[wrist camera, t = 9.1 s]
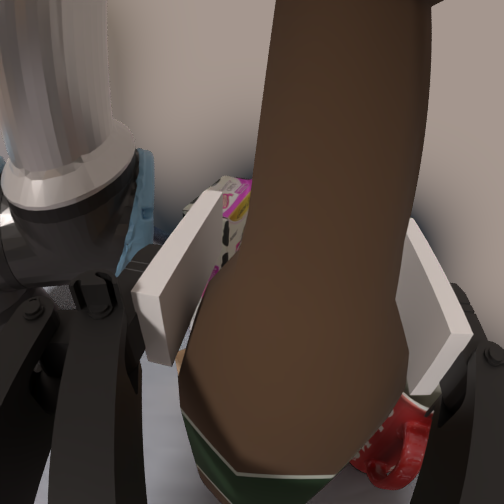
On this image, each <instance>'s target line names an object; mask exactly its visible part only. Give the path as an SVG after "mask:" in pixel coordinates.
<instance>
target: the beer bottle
mask: <svg viewBox="0 0 504 504" xmlns="http://www.w3.org/2000/svg"><path fill="white" fill-rule="evenodd" d="M441 1H443V0H276V4H275V11H274V18H273V26H272V33H271V41H270V47H269V55H268V63H267V70H266V78H265V85H264V92H263V100H262V108H261V115H260V123H259V130H258V138H257V146H256V154H255V162H254V169H253V177H252V185H251V193H250V201H249V209H248V215H247V219H246V223H245V227H244V231H243V236H242V240H241V244H240V248H239V250H238V251H237V252H236V253H235V254H234V255H233V256H232V257H231V258H230V259H229V260H228V262H227V263H226V264H225V265H224V266H223V267H222V268H221V269H220V270H219V271H218V272H217V273H216V274H215V276H214V277H213V278H212V279H211V280H210V281H209V282H208V285H207V287H206V290H205V292H204V295H203V297H202V300H201V302H200V305H199V307H198V309H197V312H196V316H195V319H194V322H193V326H192V329H191V333H190V336H189V340H188V343H187V347H186V350H185V354H184V357H183V361H182V364H181V368H180V371H179V375H178V384H179V397H180V408H181V412H182V416H183V420H184V423H185V427H186V431H187V435H188V438H189V442H190V445H191V449H192V452H193V456H194V459H195V462H196V466H197V469H198V472H199V475H200V478H201V480H202V481H203V483H204V484H205V486H206V487H207V488H208V489H209V490H210V491H211V492H212V493H213V495H214V496H215V497H216V498H217V499H218V500H219V501H220V502H221V503H222V504H305V503H307V502H308V501H309V500H310V499H311V498H312V497H313V496H315V495H316V494H317V493H318V492H319V491H320V490H321V489H322V488H323V487H324V486H326V485H327V484H328V483H329V482H330V481H331V480H332V479H333V478H334V477H335V476H336V475H337V474H338V473H339V472H340V471H341V470H342V469H343V468H344V467H345V466H346V465H347V464H348V463H349V461H350V460H351V459H352V458H353V457H354V456H355V455H356V454H357V453H358V452H359V451H360V450H361V448H362V447H363V446H364V445H365V444H366V443H367V442H368V441H369V439H370V438H371V437H372V436H373V435H374V434H375V432H376V431H377V430H378V429H379V428H380V426H381V425H382V424H383V423H384V422H385V420H386V419H387V418H388V416H389V415H390V413H391V412H392V410H393V408H394V407H395V405H396V403H397V402H398V400H399V398H400V397H401V395H402V393H403V391H404V390H405V386H406V378H407V370H408V360H409V349H408V345H407V341H406V337H405V333H404V329H403V325H402V321H401V318H400V314H399V310H398V307H397V303H396V300H395V298H396V293H397V287H398V281H399V275H400V269H401V262H402V255H403V248H404V241H405V237H406V233H407V229H408V224H409V220H410V216H411V211H412V206H413V201H414V197H415V191H416V186H417V181H418V175H419V170H420V164H421V157H422V151H423V144H424V137H425V129H426V120H427V111H428V99H429V87H430V72H431V41H432V39H431V38H432V33H431V32H432V30H431V29H432V24H431V7H432V6H433V5H435V4H437V3H439V2H441Z"/></svg>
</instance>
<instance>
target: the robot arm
mask: <svg viewBox="0 0 504 504" xmlns="http://www.w3.org/2000/svg"><path fill="white" fill-rule="evenodd" d="M107 39H108V38H107V0H0V130H1V134H2V137H3V140H4V143H5V146H6V149H7V152H8V155H9V158H8V160H7V162H6V163H5V161H4V159H3V157H1V156H0V504H34V501H35V497H36V494H37V490H38V487H39V484H40V480H41V477H42V474H43V471H44V468H45V465H46V462H47V459H48V456H49V453H50V450H51V456H50V468H49V487H48V504H147V495H146V484H145V472H144V456H143V435H142V368H141V364H140V359H141V357H142V355H143V353H144V351H146V355H147V358H148V361H150V362H154V363H158V364H162V365H166V366H170V367H172V365H173V363H174V360H175V358H176V355H177V353H178V351H179V348H180V346H181V343H182V341H183V339H184V336H185V334H186V332H187V329H188V327H189V324H190V322H191V320H192V317H193V315H194V313H195V310H196V308H197V306H198V303H199V301H200V299H201V296H202V294H203V292H204V289H205V287H206V285H207V282H208V280H209V278H210V275H211V273H212V271H213V269H214V266H215V264H216V262H217V260H218V257H219V255H220V253H221V250H222V218H223V192H221V191H211V190H204V192H203V193H202V194H201V196H200V197H199V198H198V199H197V201H196V202H195V203H194V205H193V206H192V207H191V209H190V210H189V211H188V212H187V214H186V215H185V216H184V218H183V219H182V221H181V222H180V223H179V224H178V226H177V227H176V229H175V230H174V231H173V232H172V234H171V235H170V236H169V238H168V239H167V241H166V242H165V243H164V245H155V244H153V232H154V217H153V210H154V157H153V154H152V152H151V151H148V150H143V149H140V148H138V149H135V140H134V137H133V134H132V132H131V130H130V129H129V128H128V127H127V126H126V125H124V124H123V123H121V122H120V121H118V120H115V119H114V118H113V115H112V105H111V93H110V81H109V65H108V40H107ZM60 285H69V289H70V291H71V294H72V297H73V300H74V303H75V306H76V308H77V309H76V310H61V309H60V307H59V306H58V305H57V304H56V303H55V301H54V300H53V299H52V298H51V297H50V296H49V295H48V293H47V292H46V291H45V290H44V289H43V288H42V287H48V286H60ZM395 300H396V303H397V307H398V310H399V314H400V318H401V321H402V325H403V329H404V333H405V337H406V341H407V345H408V349H409V360H408V370H407V382H408V388H409V394H410V395H431V393H432V392H433V391H434V390H435V388H436V387H437V386H438V384H440V388H441V392H442V394H441V395H440V396H439V397H438V398H437V400H436V401H435V402H434V403H433V404H432V406H431V407H430V408H429V409H428V410H427V411H426V413H425V415H424V417H426V418H427V417H428V416H429V415H430V414H431V412H432V411H433V410H434V412H433V417H432V418H431V419H432V423H431V428H430V432H429V437H428V441H427V446H426V450H425V454H424V458H423V462H422V465H421V469H420V473H419V476H418V479H417V483H416V486H415V489H414V492H413V496H412V499H411V502H410V504H504V349H502V348H501V347H500V346H499V345H498V344H496V343H494V342H490V341H488V340H487V338H486V335H485V333H484V331H483V329H482V327H481V324H480V322H479V320H478V318H477V316H476V314H474V310H473V308H472V306H471V305H470V302H469V300H468V298H467V296H466V294H465V293H464V292H463V290H462V289H461V288H460V287H459V286H458V285H457V284H455V283H449V281H448V279H447V277H446V275H445V273H444V271H443V270H442V268H441V266H440V264H439V262H438V261H437V258H436V256H435V255H434V253H433V251H432V249H431V248H430V246H429V244H428V242H427V241H426V239H425V237H424V235H423V234H422V232H421V230H420V229H419V227H418V226H417V224H416V222H415V221H414V219H413V218H410V220H409V224H408V229H407V233H406V237H405V241H404V248H403V255H402V262H401V269H400V275H399V281H398V287H397V293H396V298H395Z"/></svg>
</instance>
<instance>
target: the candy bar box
mask: <svg viewBox="0 0 504 504" xmlns="http://www.w3.org/2000/svg"><path fill="white" fill-rule="evenodd" d="M251 185H252V180H251V179H245V178H238V177H231V176H223V177H222V178H220V179H219V180H218V181H217V182H216V183H214V184H213V185H212V186H211V187H209V188H208V189H207V190H211V191H221V192H223V218H222V250H221V253H220V255H219V257H218V260H217V262H216V264H215V266H214V269H213V271H212V273H211V275H210V278H209V280H208V282H209V281H210V280H211V279H212V278H213V277H214V276H215V274H216V273H217V272H218V271H219V270H220V269H221V268H222V267H223V266H224V265H225V264H226V263H227V262H228V260H229V259H230V258H231V257H232V256H233V255H234V254H235V253H236V252H237V251H238V250H239V248H240V244H241V240H242V236H243V231H244V227H245V223H246V219H247V215H248V209H249V201H250V193H251ZM200 196H201V195H200ZM200 196H198V197H197V198H196V199H195V200H193V202H191V203H190V204H189V205H188V206H186V207H185V208H184V209H183V210H182V211H183V218H184V216H185V215H186V214H187V212H188V211H189V210H190V209H191V207H192V206H193V205H194V203H195V202H196V201H197V199H198V198H199V197H200ZM208 282H207V285H208ZM207 285H206V287H207ZM206 287H205V289H204V292H205V290H206ZM204 292H203V294H202V296H201V299H200V301H199V303H198V306H197V308H196V310H195V313H194V315H193V317H192V320H191V322H190V324H189V330H190V331H191V329H192V326H193V322H194V319H195V316H196V312H197V309H198V307H199V305H200V302H201V300H202V297H203V295H204Z"/></svg>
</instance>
